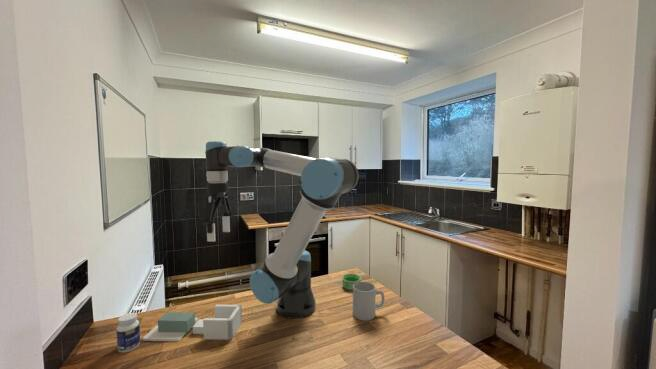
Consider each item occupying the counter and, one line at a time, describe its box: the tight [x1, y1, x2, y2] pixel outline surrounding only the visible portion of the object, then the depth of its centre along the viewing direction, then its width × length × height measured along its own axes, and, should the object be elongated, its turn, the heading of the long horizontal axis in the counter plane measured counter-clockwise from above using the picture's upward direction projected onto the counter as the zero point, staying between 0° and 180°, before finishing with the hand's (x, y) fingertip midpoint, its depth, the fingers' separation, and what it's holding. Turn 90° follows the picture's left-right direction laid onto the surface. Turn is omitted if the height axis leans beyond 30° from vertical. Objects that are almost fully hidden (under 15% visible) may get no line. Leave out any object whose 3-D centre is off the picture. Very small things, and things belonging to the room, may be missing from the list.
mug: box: [352, 281, 385, 322], centre depth 101 cm, size 12×8×11 cm
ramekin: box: [341, 273, 362, 291], centre depth 125 cm, size 9×9×4 cm
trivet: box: [142, 317, 199, 342], centre depth 92 cm, size 12×12×1 cm
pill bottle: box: [116, 312, 141, 354], centre depth 83 cm, size 6×6×10 cm
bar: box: [157, 311, 196, 333], centre depth 92 cm, size 10×5×4 cm, turn 88°
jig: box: [192, 304, 243, 341], centre depth 92 cm, size 14×10×6 cm
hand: (219, 236), depth 105 cm, fingers open, 13 cm apart
